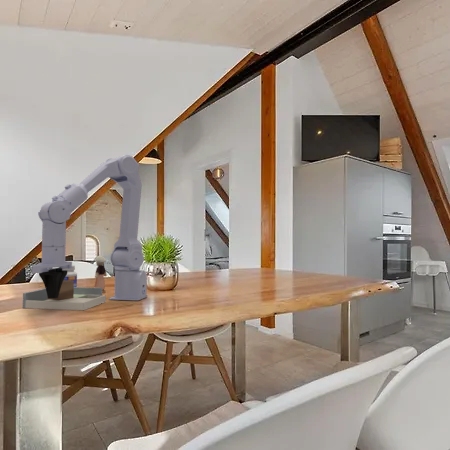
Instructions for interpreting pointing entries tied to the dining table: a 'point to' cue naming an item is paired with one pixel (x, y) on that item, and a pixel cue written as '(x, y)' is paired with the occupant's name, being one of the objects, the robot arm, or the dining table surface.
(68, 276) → the pill bottle
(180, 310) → the dining table surface
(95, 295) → the board
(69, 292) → the walnut block
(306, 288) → the dining table surface
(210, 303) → the dining table surface
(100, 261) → the grandmother figurine
